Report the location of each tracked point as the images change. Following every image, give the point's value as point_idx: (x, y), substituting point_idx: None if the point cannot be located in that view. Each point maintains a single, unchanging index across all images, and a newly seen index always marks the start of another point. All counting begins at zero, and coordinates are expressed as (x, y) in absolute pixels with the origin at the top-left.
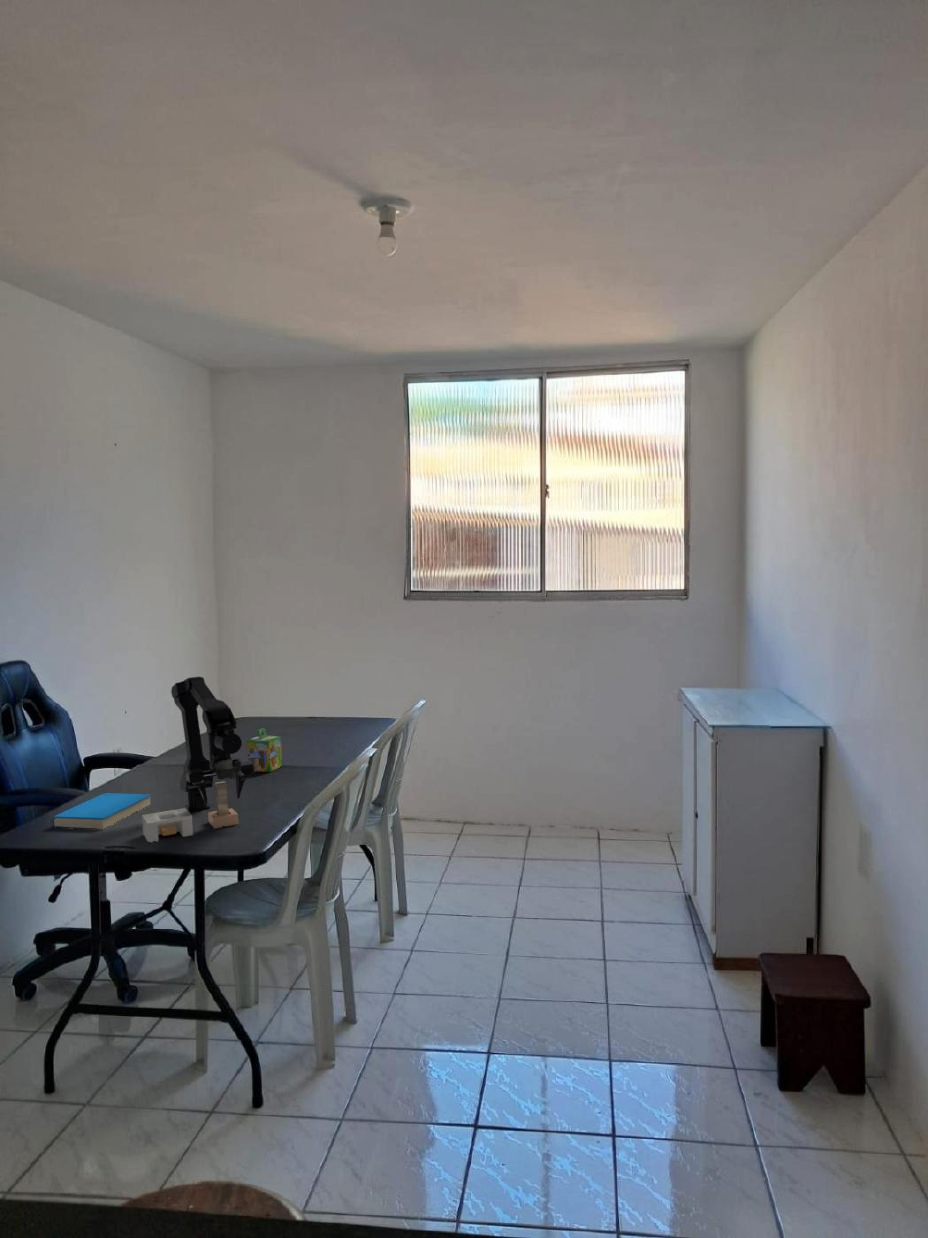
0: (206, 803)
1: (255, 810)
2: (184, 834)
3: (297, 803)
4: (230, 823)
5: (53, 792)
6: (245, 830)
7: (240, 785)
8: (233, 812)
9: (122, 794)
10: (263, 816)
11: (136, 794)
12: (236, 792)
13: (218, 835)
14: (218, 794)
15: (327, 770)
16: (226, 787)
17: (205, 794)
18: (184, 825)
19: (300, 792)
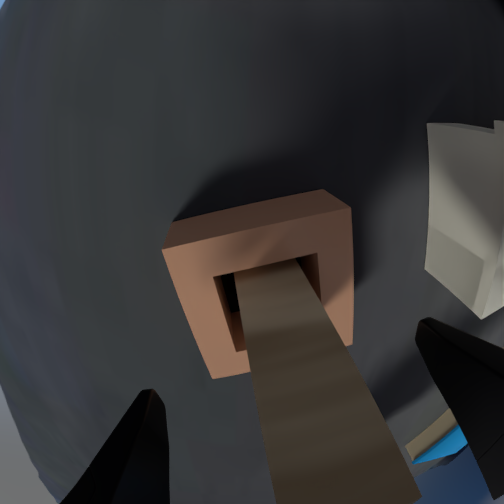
0: (428, 318)
1: (120, 397)
2: (460, 124)
3: (9, 395)
4: (221, 215)
5: (454, 457)
6: (130, 73)
7: (96, 493)
8: (198, 298)
9: (444, 454)
10: (60, 314)
11: (430, 459)
12: (165, 449)
13: (305, 37)
14: (367, 396)
15: (63, 498)
16: (278, 490)
17: (487, 358)
18: (492, 130)
19: (49, 455)
